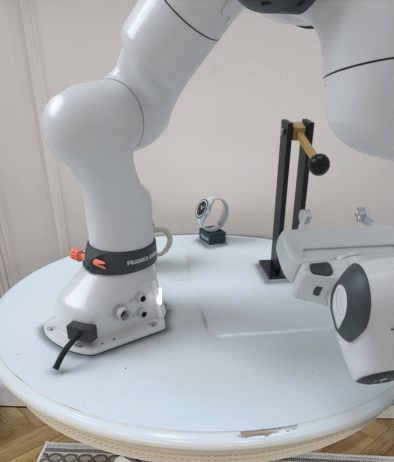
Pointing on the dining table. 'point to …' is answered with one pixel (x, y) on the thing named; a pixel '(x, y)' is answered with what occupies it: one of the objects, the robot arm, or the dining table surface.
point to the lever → (310, 151)
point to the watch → (213, 232)
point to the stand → (273, 265)
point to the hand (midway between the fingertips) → (332, 210)
